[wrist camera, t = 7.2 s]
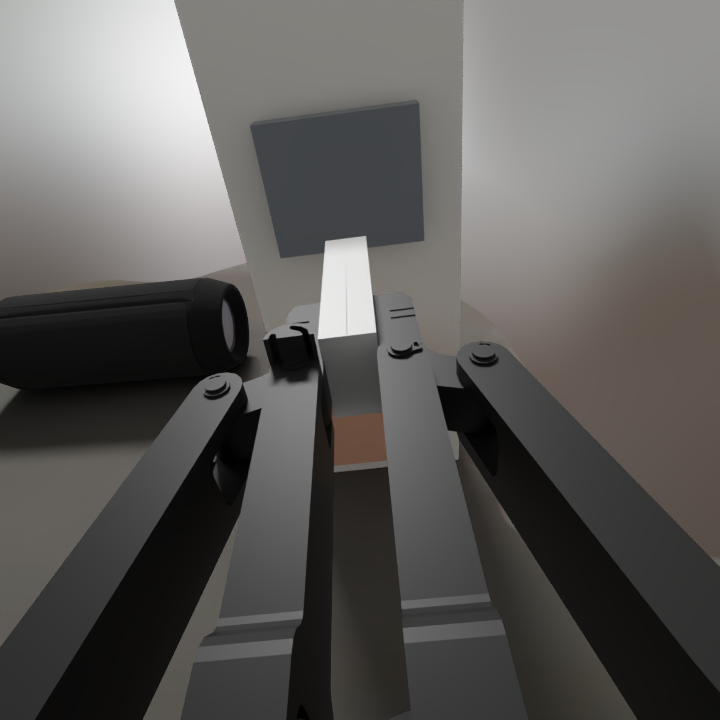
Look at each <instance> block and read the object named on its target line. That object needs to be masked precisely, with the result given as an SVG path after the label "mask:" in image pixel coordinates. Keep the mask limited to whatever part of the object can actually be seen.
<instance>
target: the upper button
mask: <svg viewBox="0 0 720 720" xmlns="http://www.w3.org/2000/svg"><path fill="white" fill-rule="evenodd" d="M250 129H251V133H252V137H253V142H254V146H255V150H256V155H257V159H258V163H259V167H260V172H261V176H262V180H263V185H264V189H265V193H266V198H267V202H268V206H269V211H270V215H271V219H272V224H273V228H274V232H275V237H276V241H277V245H278V250H279V254H280V258H288V257H296V256H304V255H312V254H321V253H324V252H325V241H330V240H338V239H345V238H353V237H361V236H366V241H367V248H370V247H378V246H386V245H394V244H402V243H410V242H419V241H424V216H423V190H422V163H421V137H420V110H419V102H418V101H417V100H411V101H404V102H397V103H389V104H382V105H374V106H367V107H360V108H352V109H345V110H338V111H330V112H323V113H315V114H308V115H301V116H293V117H286V118H279V119H271V120H264V121H256V122H253V123H252V124H251V125H250Z"/></svg>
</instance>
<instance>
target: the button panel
mask: <svg viewBox="0 0 720 720" xmlns="http://www.w3.org/2000/svg"><path fill="white" fill-rule="evenodd" d="M174 2H175V5H176V9H177V12H178V16H179V19H180V23H181V27H182V30H183V34H184V38H185V41H186V45H187V48H188V52H189V55H190V59H191V63H192V66H193V70H194V74H195V77H196V81H197V84H198V88H199V91H200V95H201V99H202V102H203V106H204V109H205V113H206V117H207V120H208V124H209V127H210V131H211V135H212V138H213V142H214V145H215V149H216V152H217V156H218V160H219V163H220V167H221V170H222V174H223V178H224V181H225V185H226V188H227V192H228V195H229V199H230V203H231V207H232V210H233V214H234V217H235V221H236V225H237V228H238V231H239V235H240V239H241V243H242V246H243V250H244V253H245V257H246V260H247V264H248V268H249V271H250V275H251V279H252V282H253V286H254V289H255V293H256V297H257V300H258V304H259V307H260V311H261V315H262V318H263V322H264V325H265V329H266V333H269V332H270V331H271V330H272V329H275V328H277V327H279V326H281V325H286V322H287V316H288V314H289V313H290V312H291V311H292V309H293V308H294V307H295V306H300V305H308V304H316V303H321V290H322V277H323V264H324V253H321V254H312V255H304V256H296V257H288V258H280V254H279V250H278V245H277V241H276V237H275V232H274V228H273V224H272V219H271V215H270V211H269V206H268V202H267V198H266V193H265V189H264V185H263V180H262V176H261V172H260V167H259V163H258V159H257V155H256V150H255V146H254V142H253V137H252V133H251V129H250V125H251V124H252V123H253V122H256V121H264V120H271V119H279V118H286V117H293V116H301V115H308V114H315V113H323V112H330V111H338V110H345V109H352V108H360V107H367V106H374V105H382V104H389V103H397V102H404V101H411V100H417V101H418V102H419V110H420V137H421V163H422V190H423V216H424V241H419V242H410V243H402V244H394V245H386V246H378V247H370V248H367V249H368V258H369V266H370V275H371V283H372V291H373V295H380V294H388V293H396V292H404V293H405V294H407V295H408V296H409V297H410V298H411V299H412V303H413V307H414V311H415V316H416V319H417V323H418V327H419V331H420V335H421V339H422V341H423V342H424V343H425V345H426V347H427V349H429V350H431V351H433V352H435V353H438V354H443V355H451V356H457V352H458V351H459V350H460V286H461V283H460V282H461V278H460V277H461V189H462V186H461V185H462V93H463V92H462V90H463V0H175V1H174ZM448 434H449V438H450V442H451V446H452V450H453V454H454V458H455V460H459V438H458V435H457V432H455V431H448ZM382 467H388V463H387V461H377V462H367V463H357V464H347V465H338V466H334V472H343V471H352V470H362V469H372V468H382Z"/></svg>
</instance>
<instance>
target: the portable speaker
mask: <svg viewBox="0 0 720 720" xmlns="http://www.w3.org/2000/svg"><path fill="white" fill-rule="evenodd" d="M248 346H249V325H248V317H247V311H246V307H245V304H244V301H243V298H242V296H241V294H240V292H239V290H238V289H237V288H236V287H235V286H234V285H232V284H229V283H226V282H222V281H218V280H214V279H210V278H196V279H186V280H175V281H165V282H155V283H145V284H135V285H125V286H114V287H104V288H94V289H84V290H74V291H64V292H54V293H43V294H34V295H24V296H15V297H9V298H5V299H3V300H2V301H0V383H1V384H5V385H8V386H11V387H14V388H17V389H22V390H29V389H41V388H54V387H66V386H79V385H91V384H104V383H116V382H129V381H141V380H154V379H166V378H178V377H191V376H203V375H215V374H218V373H222V372H224V371H227V370H229V369H231V368H233V367H235V366H237V365H239V364H241V363H242V362H243V361H244V360H245V358H246V355H247V352H248Z"/></svg>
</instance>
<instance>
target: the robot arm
mask: <svg viewBox="0 0 720 720" xmlns="http://www.w3.org/2000/svg"><path fill="white" fill-rule="evenodd" d="M263 341H264V345H265V348H266V352H267V355H268V359H269V362H270V370H269V373H267V374H265V375H264V376H261V377H259V378H256V379H253V380H250V381H247V382H244V383H242V380H241V377H239V376H238V375H236V374H233V373H218V374H215V375H212V376H209V377H207V378H205V379H204V380H202V381H200V382H199V383H198V384H197V385H196V386H195V387H194V388H193V390H192V391H191V392H190V394H189V395H188V396H187V398H186V399H185V400H184V402H183V403H182V404H181V406H180V407H179V408H178V410H177V411H176V412H175V414H174V415H173V416H172V418H171V419H170V420H169V422H168V423H167V424H166V426H165V427H164V428H163V430H162V431H161V432H160V434H159V435H158V437H157V438H156V439H155V441H154V442H153V443H152V445H151V446H150V447H149V449H148V450H147V451H146V453H145V454H144V455H143V457H142V458H141V459H140V461H139V462H138V463H137V465H136V466H135V467H134V469H133V470H132V471H131V473H130V474H129V475H128V477H127V478H126V479H125V481H124V482H123V483H122V485H121V486H120V487H119V489H118V490H117V492H116V493H115V494H114V496H113V497H112V498H111V500H110V501H109V502H108V504H107V505H106V506H105V508H104V509H103V510H102V512H101V513H100V514H99V516H98V517H97V518H96V520H95V521H94V522H93V524H92V525H91V526H90V528H89V529H88V530H87V532H86V533H85V534H84V536H83V537H82V538H81V540H80V541H79V542H78V544H77V545H76V547H75V548H74V549H73V551H72V552H71V553H70V555H69V556H68V557H67V559H66V560H65V561H64V563H63V564H62V565H61V567H60V568H59V569H58V571H57V572H56V573H55V575H54V576H53V577H52V579H51V580H50V581H49V583H48V584H47V585H46V587H45V588H44V589H43V591H42V592H41V593H40V595H39V596H38V598H37V599H36V600H35V602H34V603H33V604H32V606H31V607H30V608H29V610H28V611H27V612H26V614H25V615H24V616H23V618H22V619H21V620H20V622H19V623H18V624H17V626H16V627H15V628H14V630H13V631H12V632H11V634H10V635H9V636H8V638H7V639H6V640H5V642H4V643H3V644H2V646H1V647H0V720H143V717H144V715H145V713H146V711H147V709H148V707H149V705H150V703H151V701H152V698H153V696H154V694H155V692H156V690H157V688H158V686H159V684H160V682H161V679H162V677H163V675H164V673H165V671H166V669H167V667H168V665H169V663H170V660H171V658H172V656H173V654H174V652H175V650H176V648H177V646H178V644H179V641H180V639H181V637H182V635H183V633H184V631H185V629H186V627H187V625H188V622H189V620H190V618H191V616H192V614H193V612H194V610H195V608H196V606H197V603H198V601H199V599H200V597H201V595H202V593H203V591H204V589H205V587H206V584H207V582H208V580H209V578H210V576H211V574H212V572H213V570H214V568H215V565H216V563H217V561H218V559H219V557H220V555H221V553H222V551H223V549H224V546H225V544H226V542H227V540H228V538H229V536H230V534H231V532H232V530H233V527H234V525H235V523H236V521H237V519H238V517H239V515H240V517H239V522H238V527H237V532H236V537H235V542H234V547H233V552H232V557H231V562H230V566H229V571H228V576H227V581H226V586H225V591H224V596H223V601H222V606H221V611H220V615H219V620H218V623H217V627H216V629H215V630H214V632H213V633H211V634H209V635H208V636H206V637H204V638H203V640H202V642H201V644H200V645H199V647H198V650H197V653H196V657H195V660H194V663H193V667H192V672H191V676H190V681H189V685H188V689H187V694H186V698H185V702H184V707H183V711H182V715H181V720H334V718H333V709H332V701H331V620H332V557H333V493H334V426H333V422H332V410H333V415H334V418H339V417H348V416H357V415H366V414H375V413H383V422H384V432H385V443H386V453H387V463H388V473H389V484H390V494H391V504H392V514H393V525H394V535H395V545H396V555H397V566H398V576H399V586H400V597H401V607H402V624H403V636H404V647H405V657H406V668H407V678H408V688H409V699H410V709H411V710H409V711H407V712H404V713H402V714H399V715H397V716H395V717H392V718H390V719H387V720H529V719H528V715H527V712H526V708H525V704H524V700H523V696H522V693H521V689H520V685H519V681H518V678H517V674H516V670H515V666H514V662H513V659H512V655H511V651H510V647H509V643H508V640H507V636H506V632H505V629H504V626H503V622H502V619H501V617H500V614H499V612H498V610H497V609H495V608H494V607H493V605H492V603H491V600H490V596H489V593H488V589H487V585H486V581H485V577H484V573H483V569H482V565H481V561H480V557H479V553H478V549H477V545H476V541H475V537H474V533H473V529H472V525H471V521H470V517H469V513H468V509H467V505H466V501H465V497H464V493H463V489H462V485H461V481H460V477H459V473H458V469H457V465H456V461H455V458H454V454H453V450H452V446H451V442H450V438H449V434H448V431H455V432H457V435H458V438H459V440H460V441H461V443H462V445H463V446H464V448H465V449H466V451H467V452H468V454H469V456H470V457H471V459H472V460H473V462H474V463H475V465H476V467H477V468H478V470H479V471H480V473H481V474H482V476H483V477H484V479H485V481H486V482H487V484H488V485H489V487H490V488H491V490H492V492H493V493H494V495H495V496H496V498H497V499H498V501H499V503H500V504H501V506H502V507H503V509H504V510H505V512H506V514H507V515H508V517H509V518H510V520H511V521H512V523H513V524H514V526H515V528H516V529H517V531H518V532H519V534H520V536H521V537H522V539H523V540H524V542H525V543H526V545H527V547H528V548H529V550H530V551H531V553H532V554H533V556H534V558H535V559H536V561H537V562H538V564H539V565H540V567H541V569H542V570H543V572H544V573H545V575H546V576H547V578H548V580H549V581H550V583H551V584H552V586H553V587H554V589H555V590H556V592H557V594H558V595H559V597H560V598H561V600H562V601H563V603H564V605H565V606H566V608H567V609H568V611H569V612H570V614H571V616H572V617H573V619H574V620H575V622H576V623H577V625H578V627H579V628H580V630H581V631H582V633H583V634H584V636H585V638H586V639H587V641H588V642H589V644H590V645H591V647H592V649H593V650H594V652H595V653H596V655H597V656H598V658H599V660H600V661H601V663H602V664H603V666H604V667H605V669H606V671H607V672H608V674H609V675H610V677H611V678H612V680H613V682H614V683H615V685H616V686H617V688H618V689H619V691H620V693H621V694H622V696H623V697H624V699H625V700H626V702H627V703H628V705H629V707H630V708H631V710H632V711H633V713H634V714H635V716H636V718H637V719H638V720H720V567H719V566H718V565H717V564H716V563H715V562H714V561H713V560H712V559H711V557H710V556H708V554H707V553H706V552H705V551H704V550H703V549H702V548H701V547H700V546H699V545H698V544H697V543H696V542H695V541H694V540H693V539H692V538H691V537H690V536H689V535H688V534H687V533H686V532H685V531H684V530H683V529H682V528H681V527H680V526H679V525H678V524H677V523H676V522H675V521H674V520H673V519H672V518H671V517H670V516H669V515H668V514H667V512H666V511H664V509H663V508H662V507H660V505H659V504H658V503H657V502H656V501H655V500H654V499H653V498H652V497H651V496H650V495H649V494H648V493H647V492H646V491H645V490H644V489H643V488H642V487H641V486H640V485H639V484H638V483H637V482H636V481H635V480H634V479H633V478H632V477H631V476H630V475H629V474H628V473H627V472H626V471H625V470H624V469H623V467H622V466H621V465H620V464H618V462H616V460H615V459H614V458H613V457H612V456H611V455H610V454H609V453H608V452H607V451H606V450H605V449H604V448H603V447H602V446H601V445H600V444H599V443H598V442H597V441H596V440H595V439H594V438H593V437H592V436H591V435H590V434H589V433H588V432H587V431H586V430H585V429H584V428H583V427H582V426H581V425H580V423H578V421H577V420H576V419H575V418H574V417H573V416H572V415H571V414H570V413H569V412H568V411H567V410H566V409H565V408H564V407H563V406H562V405H561V404H560V403H559V402H558V401H557V400H556V399H555V398H554V397H553V396H552V395H551V394H550V393H549V392H548V391H547V390H546V389H545V388H544V387H543V386H542V385H541V384H540V383H539V382H538V381H537V379H535V377H534V376H533V375H531V373H530V372H529V371H528V370H527V369H526V368H525V367H524V366H523V365H522V364H521V363H520V362H519V361H518V360H517V359H516V358H515V357H514V356H513V355H512V354H511V353H510V352H509V351H508V350H507V349H506V348H504V347H503V346H501V345H499V344H496V343H492V342H483V341H480V342H473V343H470V344H467V345H465V346H463V347H462V348H461V349H460V350H459V351H458V352H457V356H451V355H443V354H438V353H435V352H433V351H431V350H429V349H427V347H426V345H425V343H424V342H423V341H422V339H421V335H420V331H419V327H418V323H417V319H416V316H415V311H414V307H413V303H412V299H411V298H410V297H409V296H408V295H407V294H405V293H404V292H396V293H388V294H380V295H373V291H372V283H371V275H370V266H369V258H368V249H367V241H366V236H361V237H353V238H345V239H338V240H330V241H325V252H324V264H323V277H322V290H321V303H316V304H308V305H300V306H295V307H294V308H293V309H292V311H291V312H290V313H289V314H288V316H287V322H286V325H281V326H279V327H277V328H275V329H272V330H271V331H270V332H269V333H267V334H266V336H265V337H264V339H263Z"/></svg>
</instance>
